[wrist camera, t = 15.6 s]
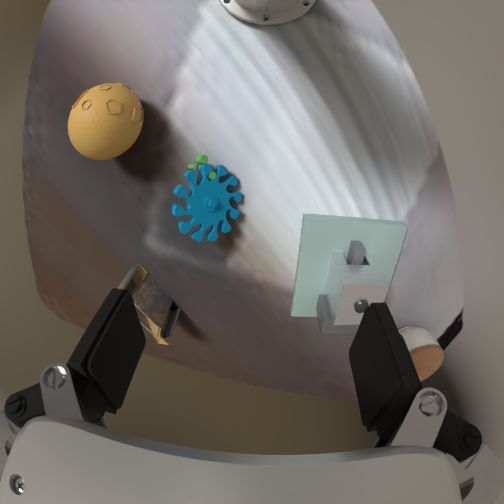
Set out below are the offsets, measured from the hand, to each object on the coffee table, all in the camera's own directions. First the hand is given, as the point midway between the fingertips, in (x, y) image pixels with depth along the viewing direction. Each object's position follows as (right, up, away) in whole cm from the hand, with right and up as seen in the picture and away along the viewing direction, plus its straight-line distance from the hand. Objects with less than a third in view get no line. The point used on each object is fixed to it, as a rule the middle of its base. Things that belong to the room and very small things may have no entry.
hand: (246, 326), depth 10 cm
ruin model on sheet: (-17, -3, +37) cm, 41 cm away
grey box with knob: (+15, 0, +30) cm, 34 cm away
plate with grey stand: (+15, 0, +32) cm, 35 cm away
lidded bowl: (+33, -15, +40) cm, 54 cm away
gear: (-5, +12, +27) cm, 30 cm away
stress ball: (-17, +22, +22) cm, 35 cm away
